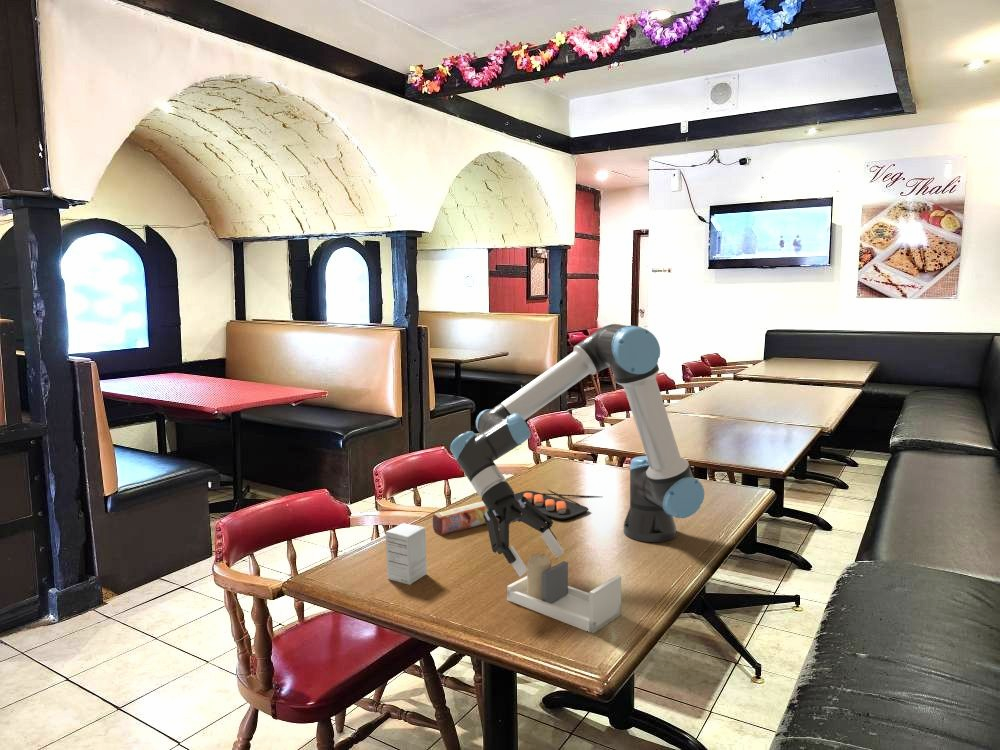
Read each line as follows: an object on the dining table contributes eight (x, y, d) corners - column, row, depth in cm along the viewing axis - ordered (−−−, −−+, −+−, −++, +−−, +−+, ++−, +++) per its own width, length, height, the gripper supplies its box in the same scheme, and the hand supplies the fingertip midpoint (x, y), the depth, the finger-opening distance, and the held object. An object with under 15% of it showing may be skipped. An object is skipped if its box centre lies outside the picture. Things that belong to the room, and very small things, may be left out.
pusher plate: (563, 592, 160) (563, 561, 159) (567, 593, 159) (567, 562, 158) (542, 604, 154) (542, 572, 153) (546, 606, 153) (546, 573, 152)
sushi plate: (498, 504, 231) (498, 493, 231) (558, 485, 251) (558, 475, 251) (562, 525, 210) (562, 513, 210) (622, 503, 230) (622, 492, 230)
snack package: (441, 537, 200) (441, 515, 199) (430, 531, 205) (430, 509, 205) (501, 522, 212) (501, 501, 211) (489, 517, 217) (489, 496, 216)
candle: (550, 590, 162) (550, 550, 160) (551, 600, 156) (551, 559, 155) (527, 590, 162) (527, 549, 161) (527, 600, 156) (527, 558, 155)
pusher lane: (536, 584, 167) (536, 549, 166) (620, 614, 152) (621, 576, 150) (507, 600, 159) (506, 563, 158) (593, 633, 143) (593, 593, 142)
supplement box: (404, 568, 178) (403, 522, 176) (427, 574, 174) (426, 527, 172) (386, 579, 172) (384, 531, 170) (409, 585, 168) (408, 536, 166)
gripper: (517, 485, 177) (565, 555, 169) (449, 510, 158) (498, 590, 150) (533, 469, 172) (582, 540, 165) (465, 492, 154) (516, 573, 146)
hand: (542, 564), depth 157 cm, fingers open, 13 cm apart
